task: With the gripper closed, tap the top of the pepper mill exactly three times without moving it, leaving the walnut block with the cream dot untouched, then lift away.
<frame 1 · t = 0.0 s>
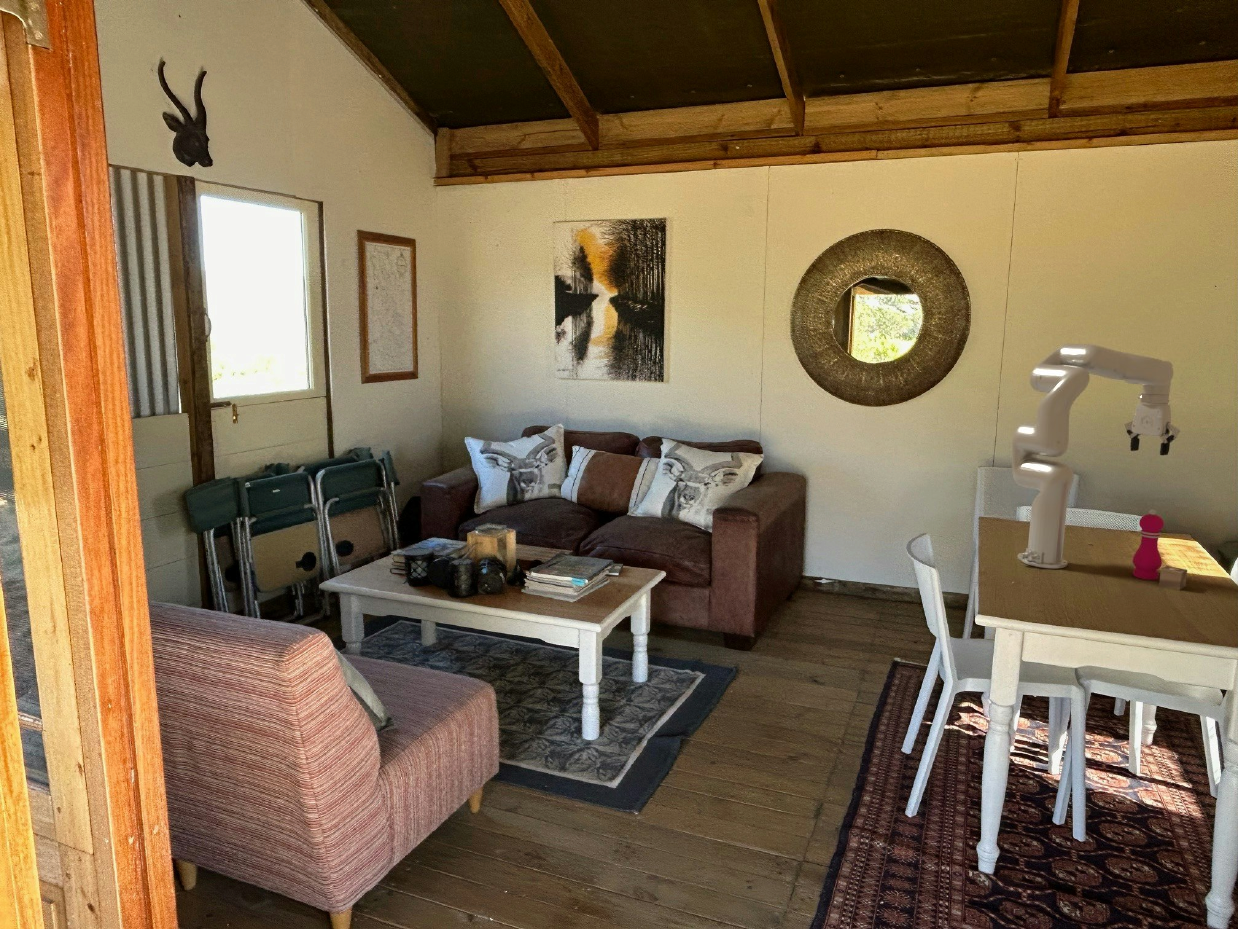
hand: (1148, 452, 279), 31 cm above the table, tool pointing down, fingers open, 9 cm apart
walnut block: (1172, 586, 243), on the table
pepper mill: (1145, 577, 252), on the table
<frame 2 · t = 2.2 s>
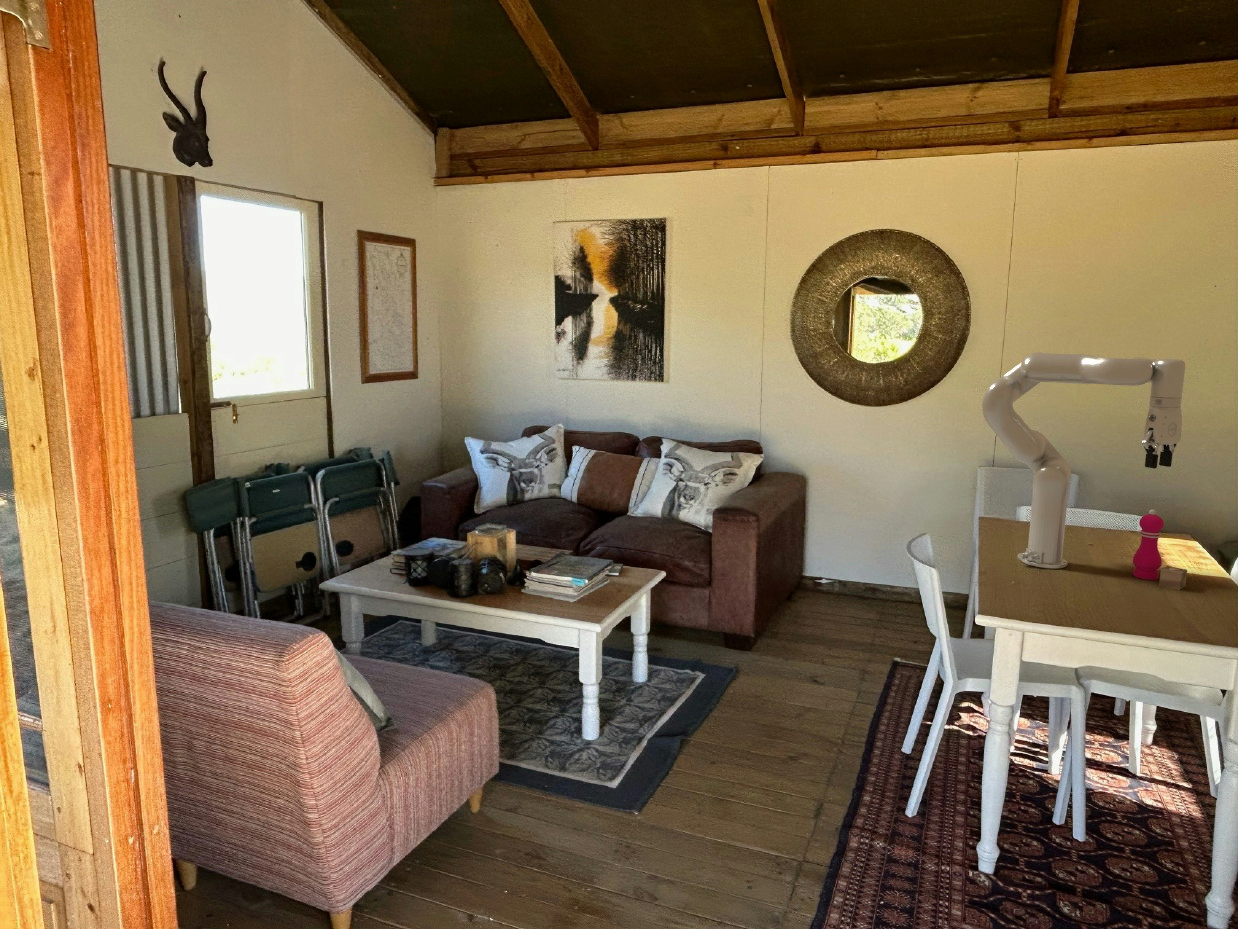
hand: (1157, 466, 247), 33 cm above the table, tool pointing down, fingers open, 5 cm apart
nothing on the table moved.
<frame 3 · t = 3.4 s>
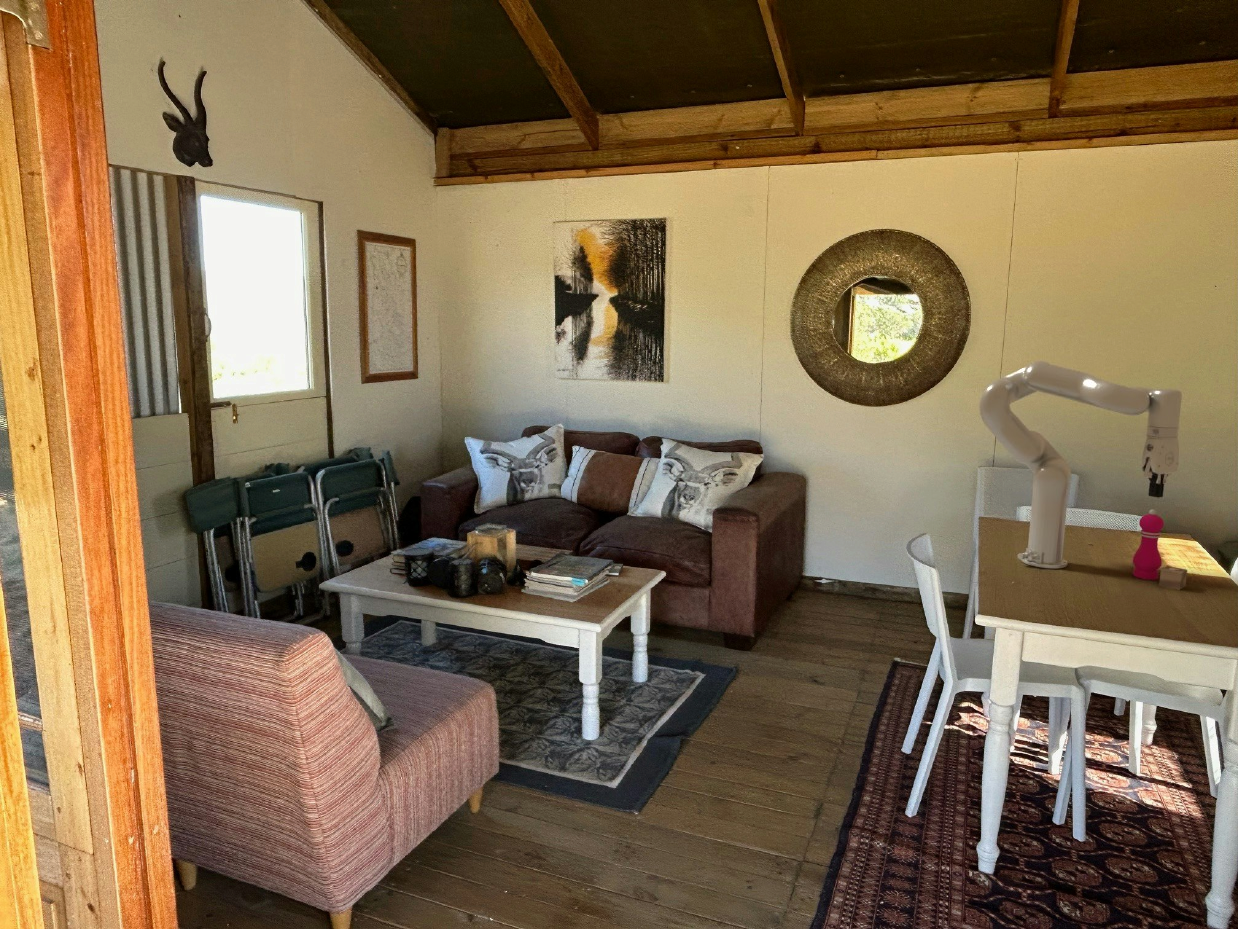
hand: (1155, 496, 248), 24 cm above the table, tool pointing down, fingers closed
nothing on the table moved.
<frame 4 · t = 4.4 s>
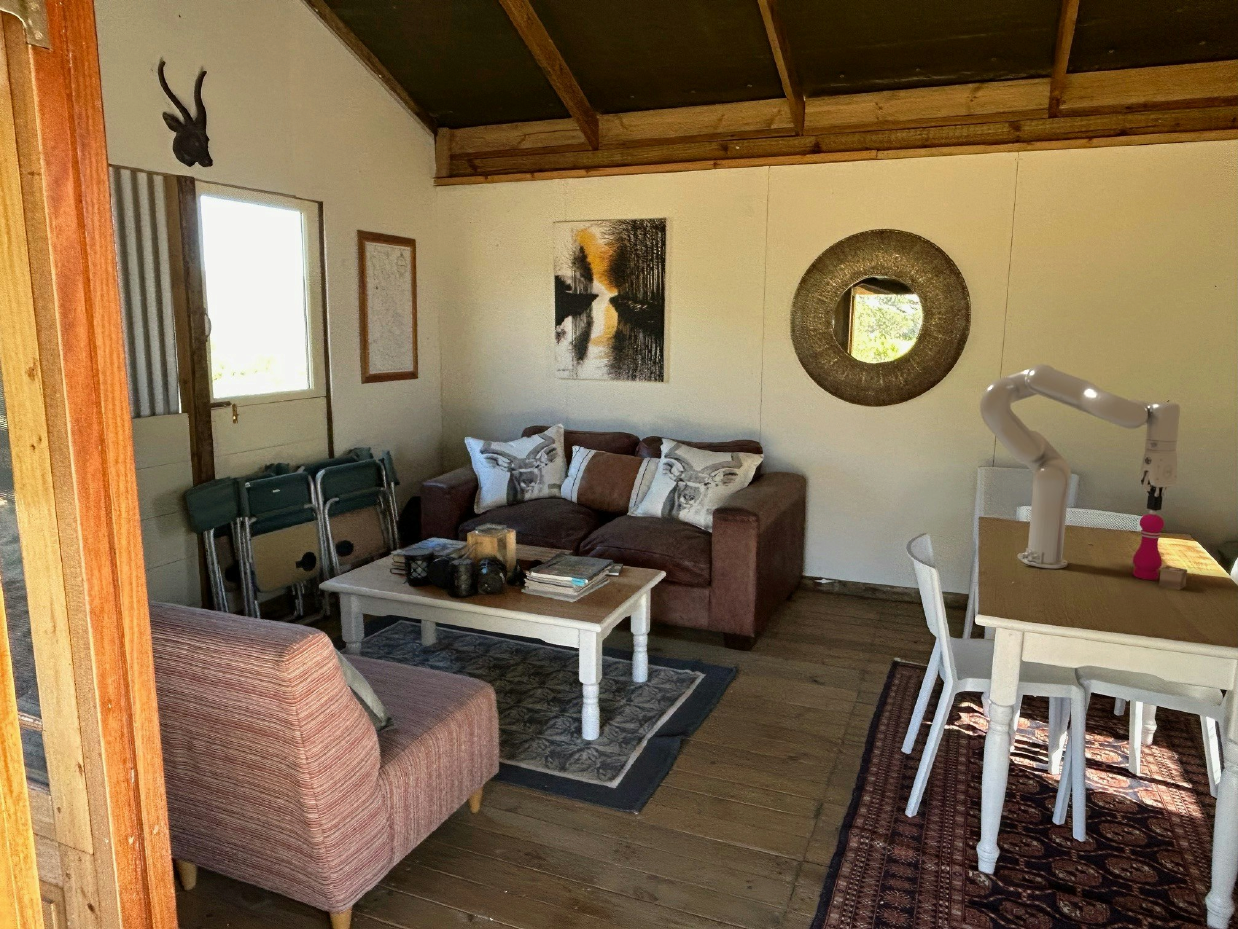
hand: (1153, 509, 249), 20 cm above the table, tool pointing down, fingers closed
pepper mill: (1145, 577, 252), on the table, touching gripper
everything else where it was.
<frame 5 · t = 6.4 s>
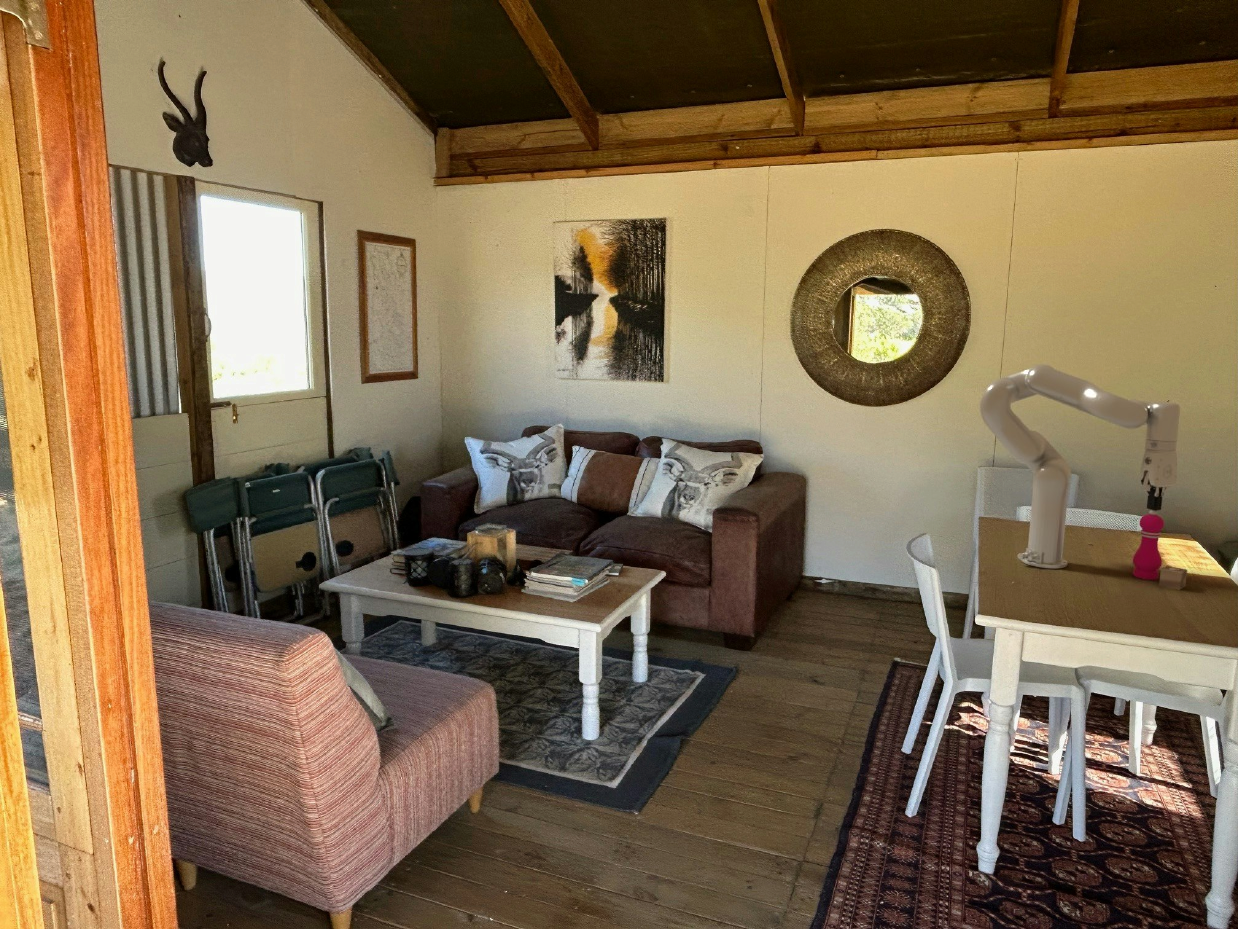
hand: (1153, 509, 249), 20 cm above the table, tool pointing down, fingers closed
nothing on the table moved.
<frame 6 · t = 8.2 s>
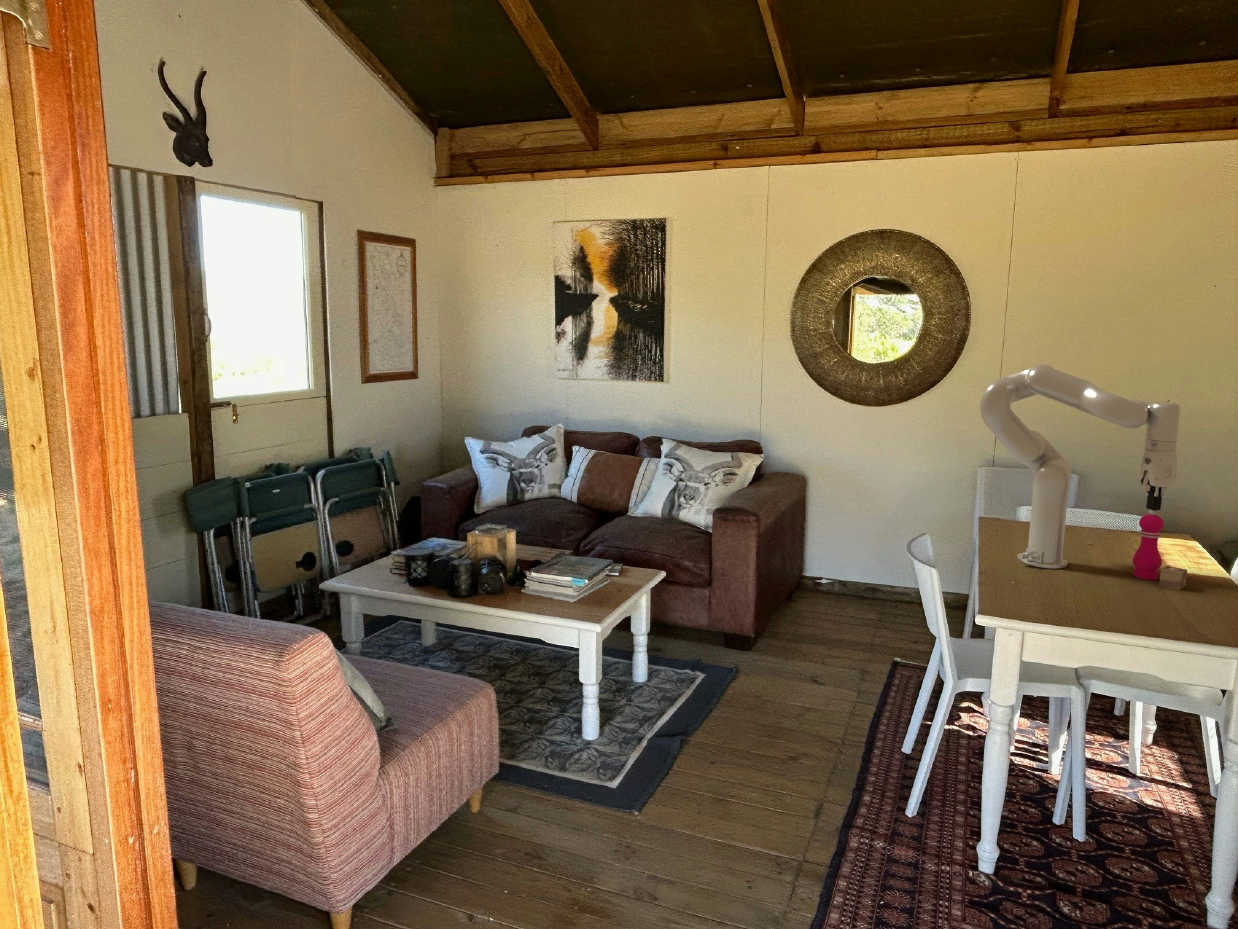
hand: (1153, 509, 249), 20 cm above the table, tool pointing down, fingers closed
nothing on the table moved.
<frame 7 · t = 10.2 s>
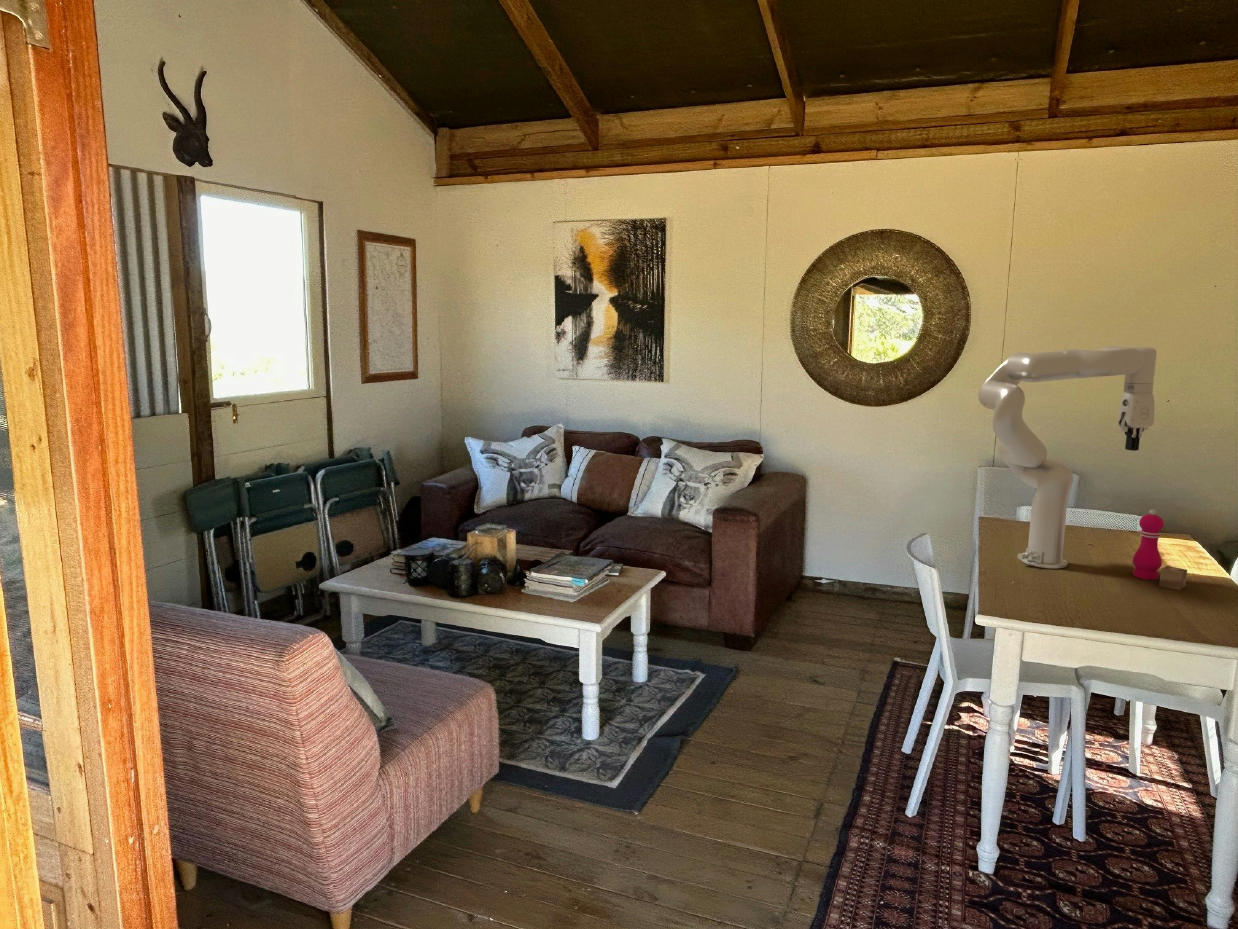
hand: (1131, 449, 262), 35 cm above the table, tool pointing down, fingers closed
pepper mill: (1145, 577, 252), on the table
everything else where it was.
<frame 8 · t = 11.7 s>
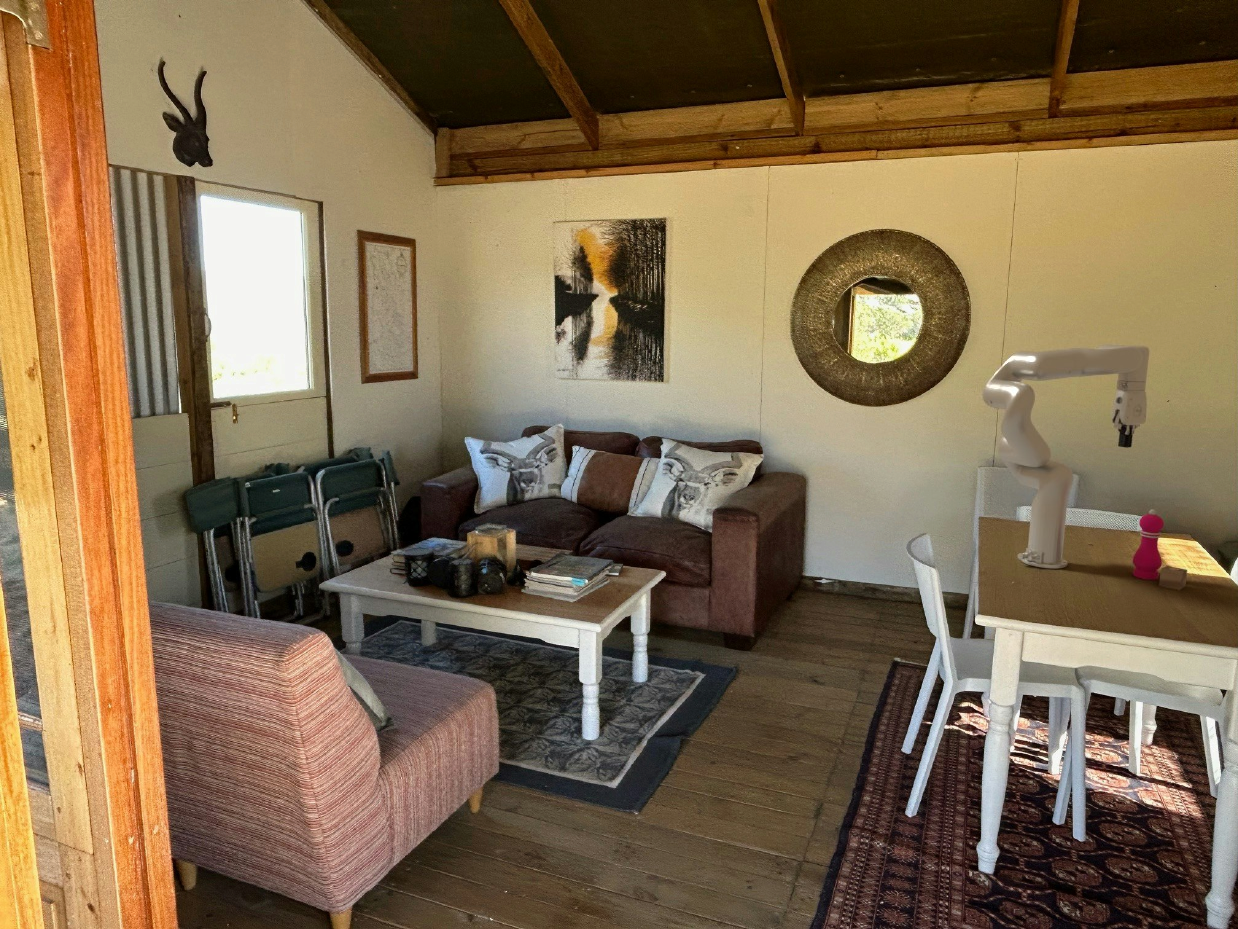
hand: (1124, 446, 265), 35 cm above the table, tool pointing down, fingers closed
nothing on the table moved.
at the end: pepper mill moved 0.2 cm from its start; pepper mill tilted 0°; walnut block moved 0.1 cm from its start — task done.
